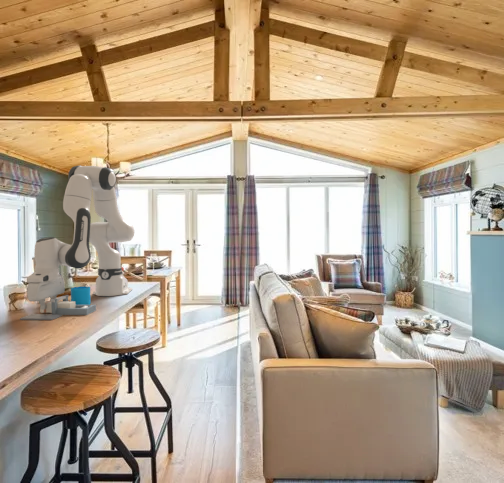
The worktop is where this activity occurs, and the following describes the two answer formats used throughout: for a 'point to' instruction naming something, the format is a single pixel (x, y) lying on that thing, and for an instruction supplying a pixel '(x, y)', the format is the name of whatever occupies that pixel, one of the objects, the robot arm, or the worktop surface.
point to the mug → (81, 295)
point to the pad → (41, 317)
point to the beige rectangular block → (58, 305)
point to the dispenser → (71, 311)
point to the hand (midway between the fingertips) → (47, 307)
